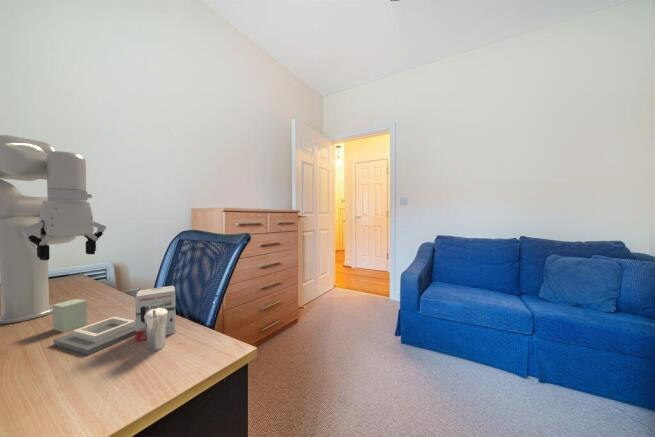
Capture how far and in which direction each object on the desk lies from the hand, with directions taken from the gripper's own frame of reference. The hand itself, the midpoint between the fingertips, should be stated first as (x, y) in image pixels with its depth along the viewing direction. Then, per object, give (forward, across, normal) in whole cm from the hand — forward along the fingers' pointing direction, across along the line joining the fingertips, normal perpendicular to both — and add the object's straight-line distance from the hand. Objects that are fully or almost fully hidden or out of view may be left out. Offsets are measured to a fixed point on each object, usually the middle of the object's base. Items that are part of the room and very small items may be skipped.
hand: (68, 256), depth 68 cm
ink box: (+20, -5, +28) cm, 35 cm away
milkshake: (+20, 0, +35) cm, 40 cm away
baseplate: (+20, 0, +16) cm, 26 cm away
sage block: (+20, 0, 0) cm, 20 cm away
